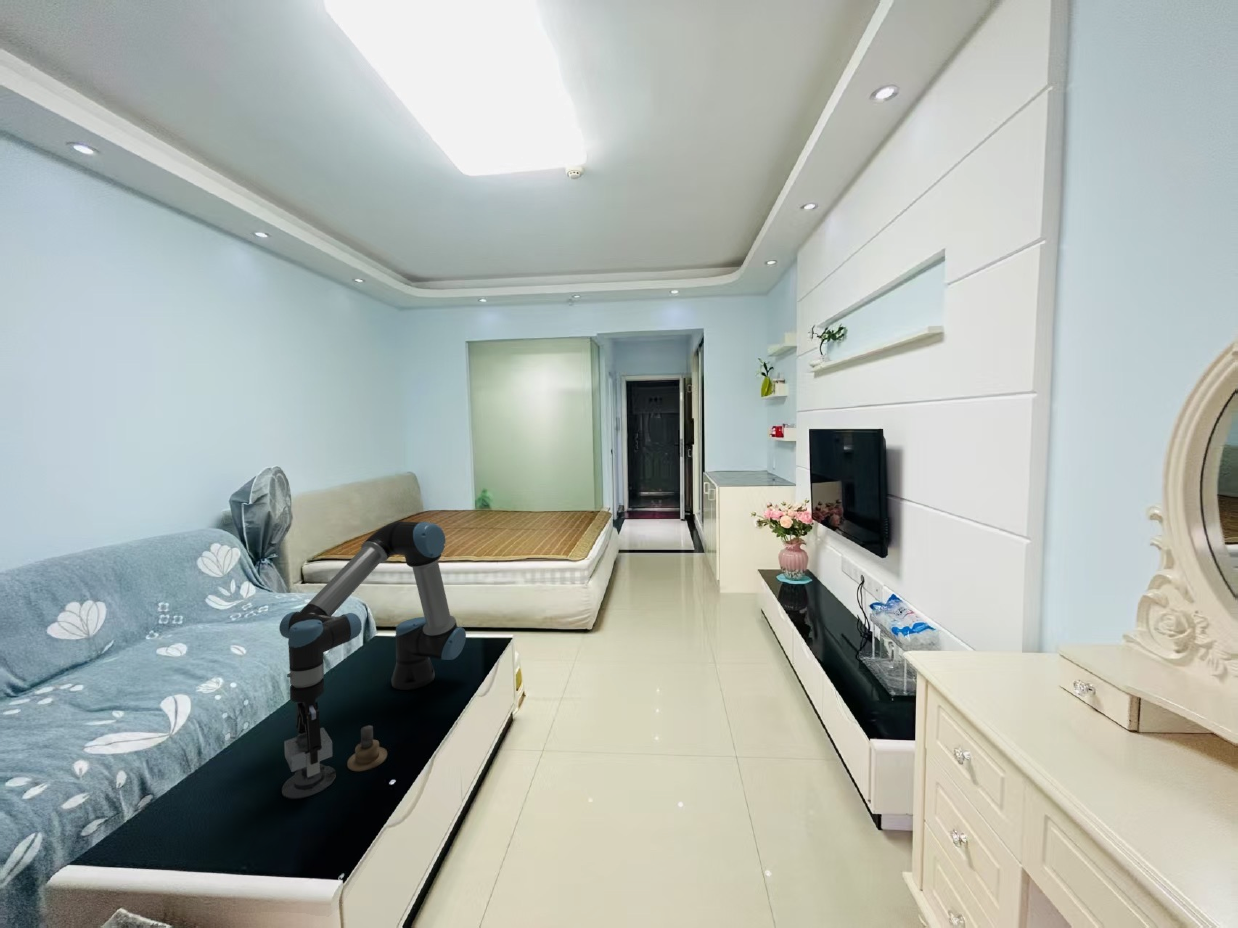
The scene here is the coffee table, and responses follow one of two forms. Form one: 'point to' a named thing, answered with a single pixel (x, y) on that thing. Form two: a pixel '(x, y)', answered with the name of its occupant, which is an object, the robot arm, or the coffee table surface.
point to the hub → (308, 782)
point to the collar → (298, 747)
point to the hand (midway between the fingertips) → (309, 765)
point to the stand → (367, 752)
